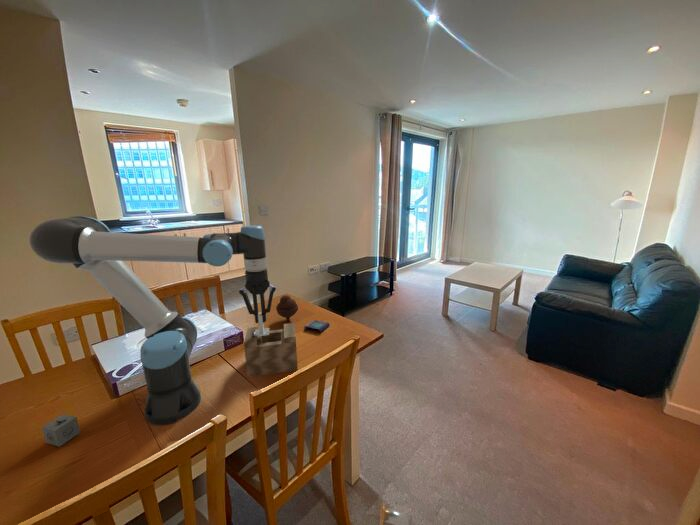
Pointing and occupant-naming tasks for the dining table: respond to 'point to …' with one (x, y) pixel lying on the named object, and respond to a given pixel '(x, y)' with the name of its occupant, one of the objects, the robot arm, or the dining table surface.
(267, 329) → the clip tab
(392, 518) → the pin
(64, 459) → the dining table surface
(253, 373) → the hitch block
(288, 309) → the ice cream bowl
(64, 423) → the grey toy block
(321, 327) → the blue flat box
